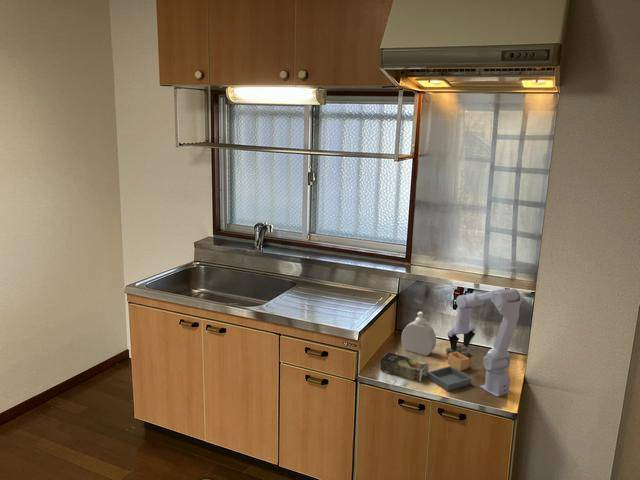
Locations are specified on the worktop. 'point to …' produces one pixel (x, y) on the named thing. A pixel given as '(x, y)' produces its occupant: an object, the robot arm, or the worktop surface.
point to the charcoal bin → (449, 378)
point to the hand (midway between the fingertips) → (459, 347)
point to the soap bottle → (419, 336)
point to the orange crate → (458, 361)
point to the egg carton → (459, 349)
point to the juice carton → (404, 367)
